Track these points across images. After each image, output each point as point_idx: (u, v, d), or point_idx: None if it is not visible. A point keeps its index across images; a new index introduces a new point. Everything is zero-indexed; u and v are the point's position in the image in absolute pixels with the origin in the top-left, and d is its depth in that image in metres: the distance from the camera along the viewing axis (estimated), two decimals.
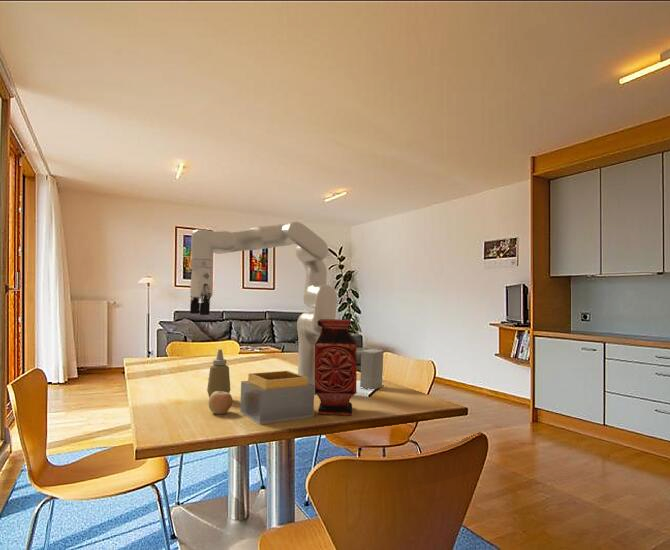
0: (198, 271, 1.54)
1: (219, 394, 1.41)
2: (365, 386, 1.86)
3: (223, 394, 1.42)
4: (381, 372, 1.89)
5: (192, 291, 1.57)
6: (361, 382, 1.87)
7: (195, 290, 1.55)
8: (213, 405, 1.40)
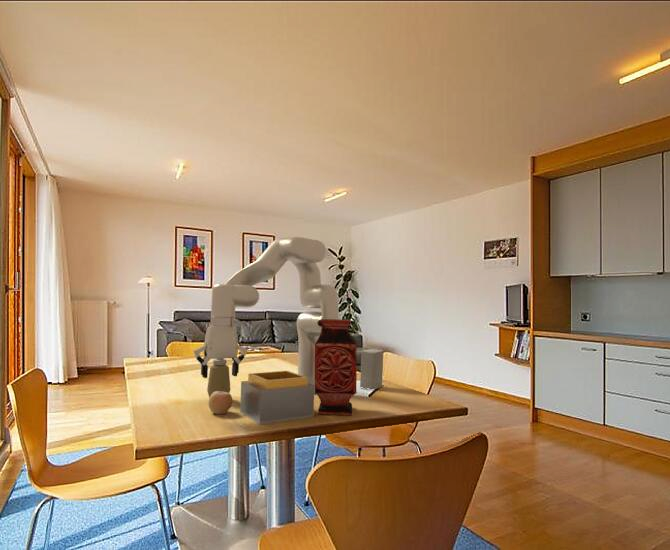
0: (234, 330, 1.45)
1: (219, 394, 1.41)
2: (365, 386, 1.86)
3: (223, 394, 1.42)
4: (381, 372, 1.89)
5: (217, 352, 1.41)
6: (361, 382, 1.87)
7: (227, 351, 1.43)
8: (213, 405, 1.40)
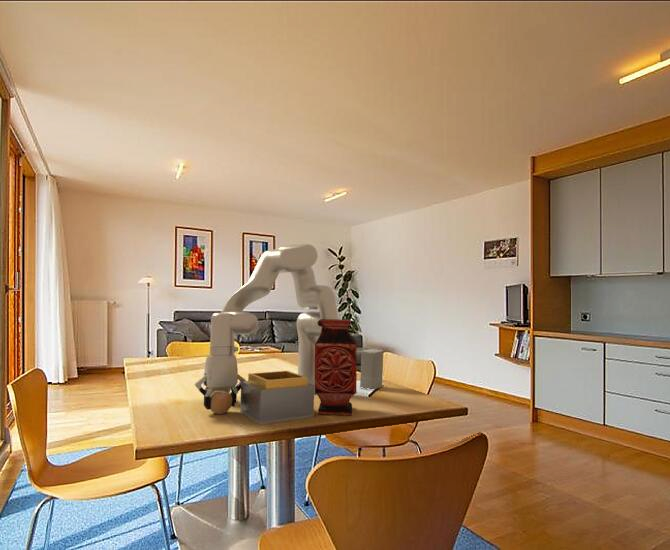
0: (234, 359, 1.44)
1: (219, 394, 1.41)
2: (365, 386, 1.86)
3: (223, 394, 1.42)
4: (381, 372, 1.89)
5: (217, 382, 1.41)
6: (361, 382, 1.87)
7: (227, 380, 1.43)
8: (213, 404, 1.40)
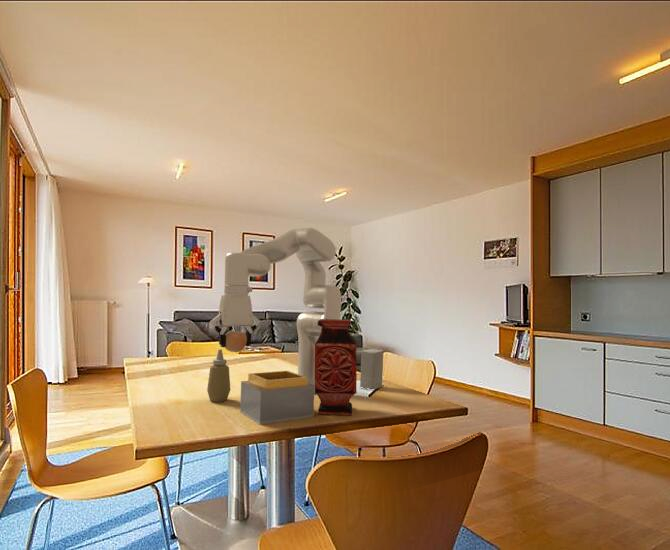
0: (248, 298, 1.45)
1: (234, 332, 1.42)
2: (365, 386, 1.86)
3: (238, 332, 1.43)
4: (381, 372, 1.89)
5: (232, 320, 1.42)
6: (361, 382, 1.87)
7: (242, 319, 1.44)
8: (228, 342, 1.41)
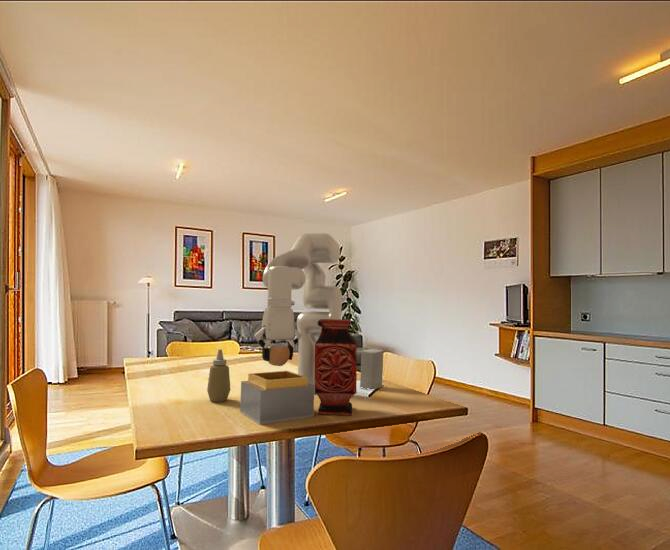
0: (291, 312, 1.45)
1: (277, 346, 1.42)
2: (365, 386, 1.86)
3: (281, 346, 1.42)
4: (381, 372, 1.89)
5: (276, 334, 1.41)
6: (361, 382, 1.87)
7: (285, 332, 1.43)
8: (272, 356, 1.40)
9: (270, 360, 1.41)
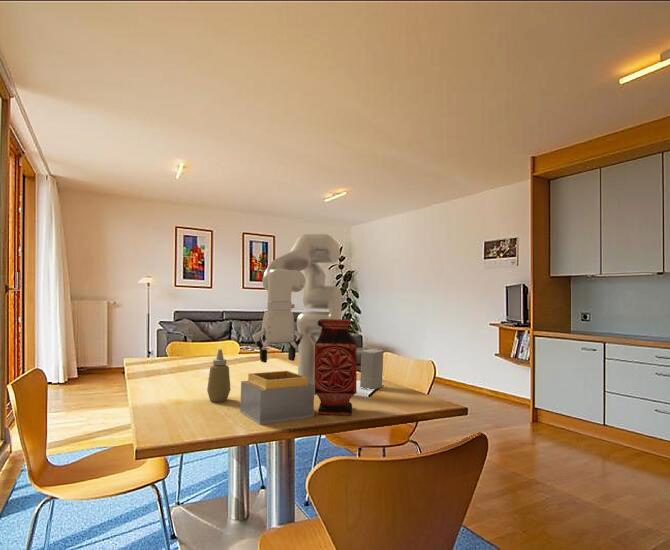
0: (291, 315, 1.45)
1: None
2: (365, 386, 1.86)
3: None
4: (381, 372, 1.89)
5: (276, 337, 1.41)
6: (361, 382, 1.87)
7: (285, 335, 1.43)
8: None
9: None
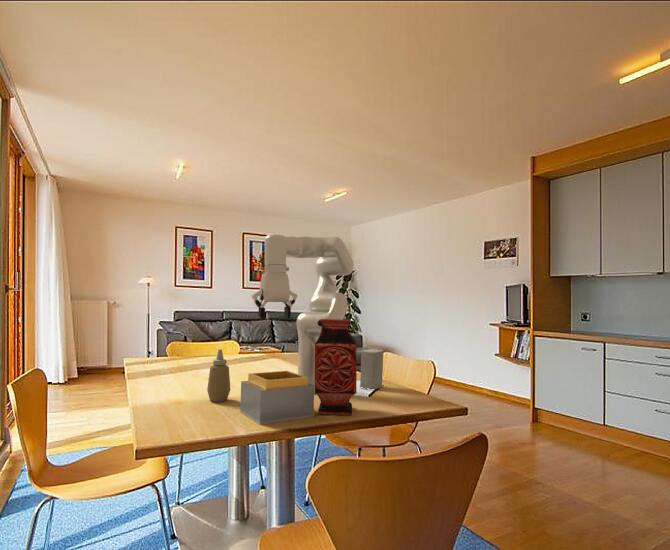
0: (286, 277, 1.59)
1: None
2: (365, 386, 1.86)
3: None
4: (381, 372, 1.89)
5: (273, 296, 1.56)
6: (361, 382, 1.87)
7: (281, 295, 1.57)
8: None
9: None
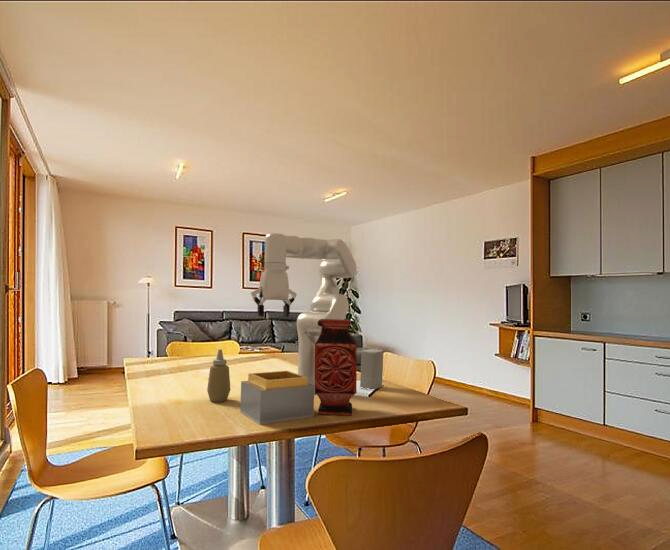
0: (286, 275, 1.61)
1: None
2: (365, 386, 1.86)
3: None
4: (381, 372, 1.89)
5: (272, 294, 1.57)
6: (361, 382, 1.87)
7: (280, 293, 1.59)
8: None
9: None
